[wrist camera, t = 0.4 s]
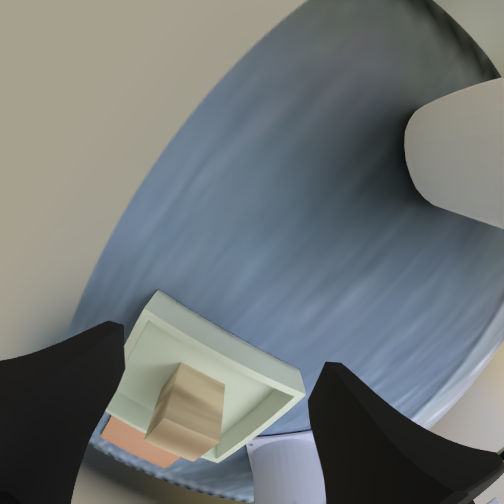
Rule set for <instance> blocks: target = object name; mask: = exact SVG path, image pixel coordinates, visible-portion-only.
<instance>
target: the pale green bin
mask: <svg viewBox="0 0 504 504" xmlns="http://www.w3.org/2000/svg"><path fill="white" fill-rule="evenodd" d="M124 353H125V371H124V374H123V376H122V379H121V381H120V384H119V386H118V389H117V391H116V393H115V394H114V396H113V398H112V400H111V401H110V403H109V405H108V407H107V409H106V410H105V412H107V413H109V414H110V415H112V416H114V417H115V418H117V419H119V420H121V421H122V422H124V423H126V424H128V425H130V426H131V427H133V428H135V429H137V430H139V431H141V432H143V433H145V434H146V432H147V429H148V426H149V423H150V420H151V418H152V415H153V412H154V409H155V406H156V403H157V400H158V397H159V395H160V392H161V389H162V387H163V386H164V385H165V383H166V382H167V381H168V379H169V378H170V377H171V375H172V374H173V373H174V371H175V370H176V368H177V367H178V366H179V364H180V363H181V362H183V363H185V364H186V365H188V366H190V367H192V368H194V369H196V370H198V371H199V372H201V373H203V374H205V375H207V376H209V377H211V378H213V379H215V380H217V381H219V382H221V383H223V384H225V393H224V405H223V417H222V430H221V442H220V443H218V444H217V445H216V446H214V447H213V448H212V449H210V450H209V451H208V452H206V453H205V454H204V455H202V456H201V458H204V459H207V460H209V461H212V462H215V463H219V462H221V461H222V460H224V459H225V458H227V457H228V456H230V455H231V454H232V453H234V452H235V451H237V450H238V449H240V448H241V447H242V446H244V445H245V444H246V443H248V442H249V441H251V440H252V439H253V438H255V437H256V436H257V435H258V434H260V433H261V432H262V431H264V430H265V429H266V428H267V427H269V426H270V425H271V424H272V423H274V422H275V421H276V420H277V419H279V418H280V417H281V416H282V415H283V414H285V413H286V412H287V411H288V410H289V409H290V408H291V407H293V406H294V405H295V404H296V403H297V402H298V401H299V400H301V399H302V398H303V397H304V396H305V395H306V392H305V389H304V385H303V381H302V377H301V374H300V370H299V369H297V368H295V367H293V366H291V365H289V364H287V363H285V362H283V361H281V360H279V359H277V358H275V357H273V356H271V355H269V354H267V353H265V352H263V351H262V350H260V349H258V348H256V347H254V346H252V345H250V344H249V343H247V342H245V341H243V340H241V339H239V338H238V337H236V336H234V335H232V334H230V333H229V332H227V331H225V330H223V329H222V328H220V327H218V326H217V325H215V324H213V323H211V322H210V321H208V320H206V319H205V318H203V317H201V316H200V315H198V314H196V313H195V312H193V311H192V310H190V309H188V308H187V307H185V306H183V305H182V304H180V303H179V302H177V301H176V300H174V299H172V298H171V297H169V296H168V295H166V294H165V293H163V292H162V291H160V290H159V289H158V290H157V291H156V293H155V294H154V295H153V297H152V298H151V300H150V301H149V302H148V304H147V305H146V306H145V308H144V309H143V311H142V313H141V315H140V317H139V319H138V320H137V322H136V324H135V326H134V328H133V330H132V332H131V334H130V336H129V338H128V340H127V341H126V343H125V345H124Z"/></svg>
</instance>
